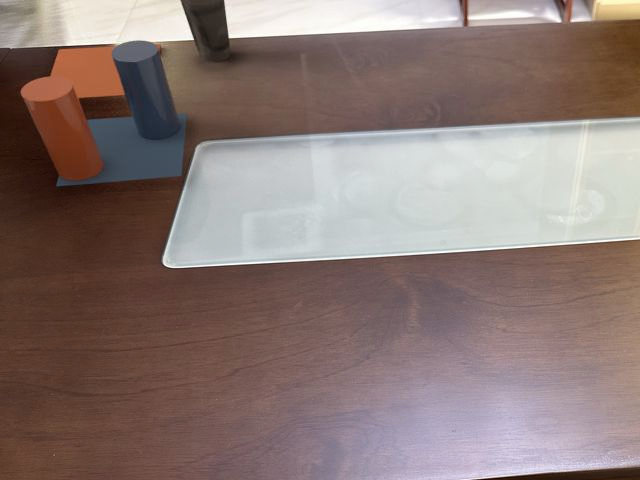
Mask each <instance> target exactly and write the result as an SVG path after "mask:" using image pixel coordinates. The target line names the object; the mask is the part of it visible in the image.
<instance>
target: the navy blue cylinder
mask: <svg viewBox="0 0 640 480" xmlns="http://www.w3.org/2000/svg"><path fill="white" fill-rule="evenodd" d="M155 44H156V43H154V42H151V41H149V40H141V39H138V40H130V41H125V42H122V43H120V44H118V45H116V47H115V48H114V49H113V50H112V52H111V56H112V59H113V62H114V64H115V67H116V70H117V73H118V76H119V79H120V82H121V85H122V88H123V91H124V94H125V95H124V96H125V100H126V102H127V105H128V108H129V112H130V114H131V117H133V120H134V123H135V126H136V128H137V131H138V134H139V135H140V136H142V137H143V138H146V139H152V140H158V139H164V138H168V137H170V136H172V135H174V134H176V133H177V132H178V131H179V129H180V122H179V119H178V115H177V114H178V112H177V109H176V105H175V102H174V98H173V95H172V92H171V87H170V84H169V81H168V78H167V74H166V70H165V67H164V63H163V61H162V57H161V52H160V53H159V50H158V47H157V46H156V45H155Z"/></svg>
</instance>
